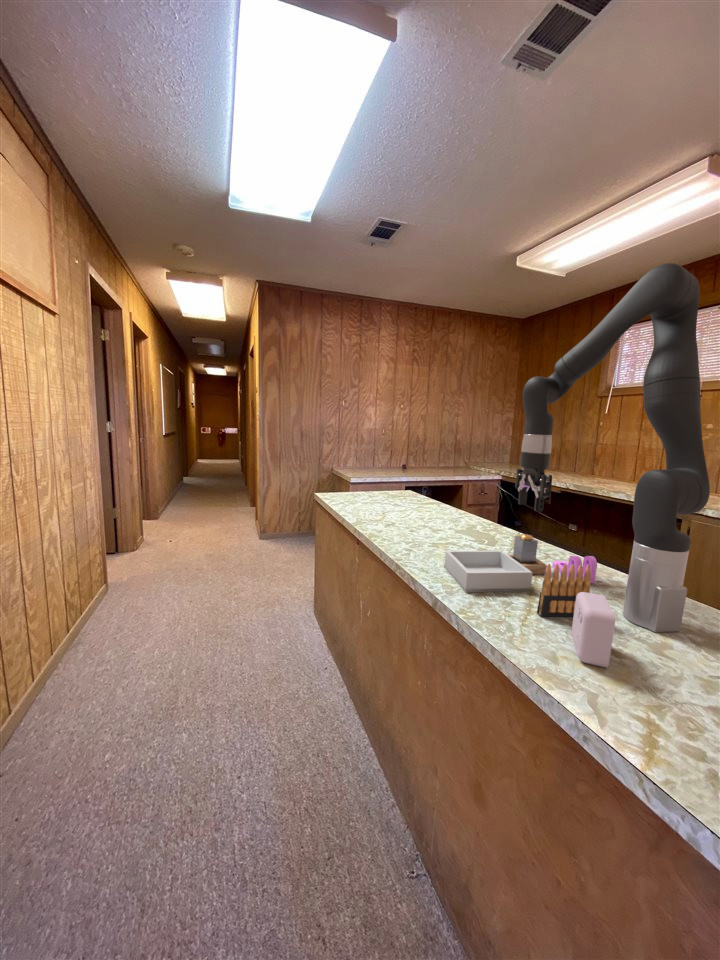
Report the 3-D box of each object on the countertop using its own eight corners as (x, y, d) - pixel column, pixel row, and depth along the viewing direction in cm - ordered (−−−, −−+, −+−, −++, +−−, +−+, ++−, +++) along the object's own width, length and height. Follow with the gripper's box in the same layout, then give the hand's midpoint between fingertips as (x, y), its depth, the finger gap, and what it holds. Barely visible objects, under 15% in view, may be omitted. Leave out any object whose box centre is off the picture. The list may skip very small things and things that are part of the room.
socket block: (546, 574, 107) (547, 565, 106) (516, 574, 106) (517, 565, 105) (529, 562, 116) (530, 554, 115) (501, 562, 115) (501, 554, 114)
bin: (530, 591, 95) (532, 572, 94) (465, 592, 93) (467, 573, 93) (500, 566, 111) (501, 550, 110) (444, 567, 109) (445, 550, 108)
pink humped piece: (594, 583, 102) (598, 559, 101) (574, 583, 102) (577, 558, 100) (566, 565, 115) (569, 543, 114) (548, 564, 114) (551, 542, 113)
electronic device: (568, 635, 76) (574, 588, 74) (595, 640, 74) (602, 592, 73) (576, 664, 67) (584, 611, 65) (607, 671, 65) (615, 617, 63)
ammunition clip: (583, 614, 85) (590, 563, 83) (588, 618, 83) (595, 566, 81) (536, 613, 84) (542, 562, 82) (540, 617, 82) (547, 565, 80)
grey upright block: (534, 571, 109) (538, 538, 107) (519, 571, 108) (523, 538, 107) (526, 565, 113) (529, 533, 112) (512, 565, 113) (515, 533, 111)
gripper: (564, 453, 99) (557, 514, 101) (534, 449, 113) (528, 502, 115) (537, 452, 98) (531, 513, 100) (510, 448, 112) (505, 502, 114)
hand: (529, 507), depth 108 cm, fingers open, 8 cm apart
